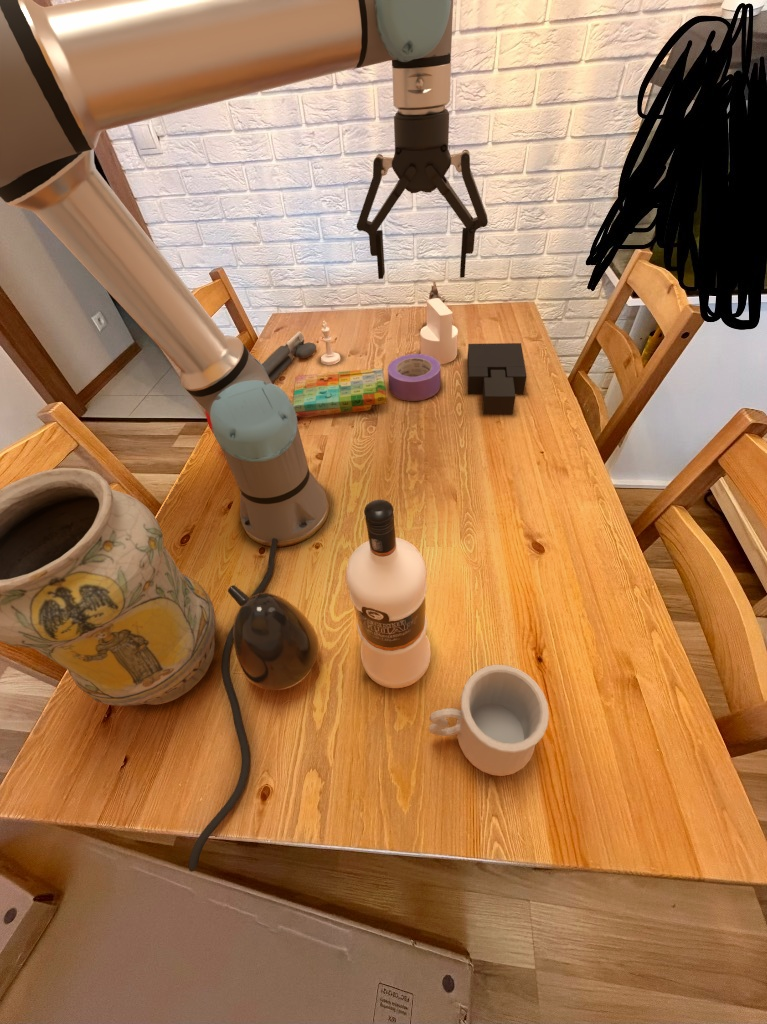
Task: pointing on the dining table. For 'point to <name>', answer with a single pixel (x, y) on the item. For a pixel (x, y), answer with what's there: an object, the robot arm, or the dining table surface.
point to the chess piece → (328, 348)
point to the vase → (99, 590)
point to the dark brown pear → (272, 640)
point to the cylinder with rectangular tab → (439, 333)
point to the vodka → (389, 601)
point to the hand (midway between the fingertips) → (421, 275)
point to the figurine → (435, 294)
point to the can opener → (287, 355)
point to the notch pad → (495, 364)
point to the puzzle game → (338, 392)
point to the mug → (497, 719)
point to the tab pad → (498, 393)
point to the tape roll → (414, 377)
